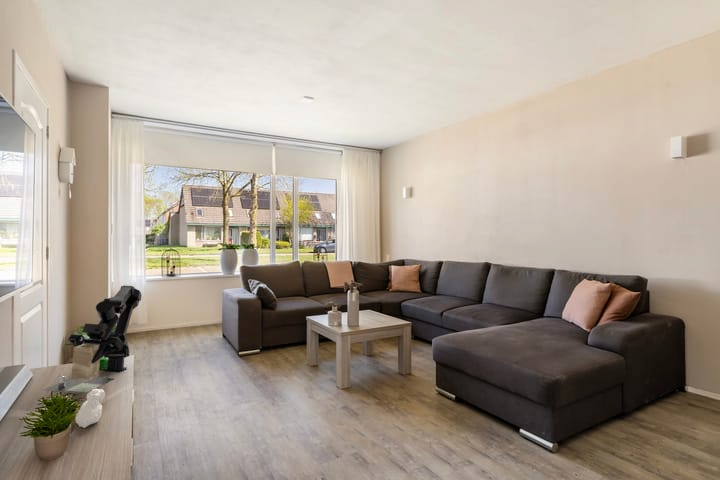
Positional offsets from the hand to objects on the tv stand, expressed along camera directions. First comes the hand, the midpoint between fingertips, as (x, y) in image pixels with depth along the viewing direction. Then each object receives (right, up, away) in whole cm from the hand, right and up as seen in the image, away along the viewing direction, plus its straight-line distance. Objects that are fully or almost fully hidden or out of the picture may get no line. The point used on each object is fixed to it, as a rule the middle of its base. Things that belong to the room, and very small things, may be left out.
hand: (83, 362), depth 148 cm
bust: (+17, -13, -22) cm, 30 cm away
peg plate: (-5, -11, +5) cm, 13 cm away
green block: (-13, -12, +28) cm, 33 cm away
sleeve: (0, -6, +1) cm, 6 cm away
